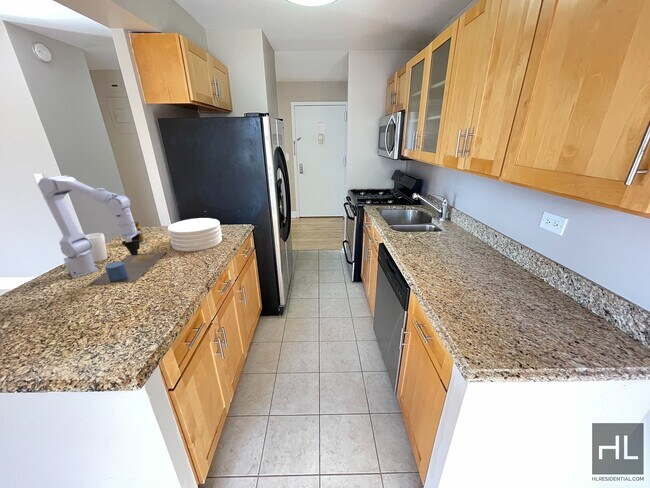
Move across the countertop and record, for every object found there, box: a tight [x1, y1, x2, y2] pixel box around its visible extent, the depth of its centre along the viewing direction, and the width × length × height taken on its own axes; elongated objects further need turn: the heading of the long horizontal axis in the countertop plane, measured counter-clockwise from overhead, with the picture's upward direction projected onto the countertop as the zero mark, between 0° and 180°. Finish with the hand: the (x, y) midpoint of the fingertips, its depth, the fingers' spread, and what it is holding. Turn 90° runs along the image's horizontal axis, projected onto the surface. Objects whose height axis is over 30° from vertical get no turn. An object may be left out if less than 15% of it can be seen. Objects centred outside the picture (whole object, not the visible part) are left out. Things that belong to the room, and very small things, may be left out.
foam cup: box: [85, 232, 108, 263], centre depth 133 cm, size 10×9×13 cm
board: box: [89, 252, 167, 285], centre depth 127 cm, size 32×18×1 cm, turn 8°
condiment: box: [134, 221, 146, 245], centre depth 157 cm, size 7×8×12 cm
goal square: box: [130, 254, 156, 262], centre depth 136 cm, size 9×9×1 cm
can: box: [104, 261, 127, 281], centre depth 116 cm, size 7×7×6 cm
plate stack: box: [167, 217, 223, 252], centre depth 157 cm, size 28×28×12 cm
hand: (135, 252), depth 118 cm, fingers open, 7 cm apart
